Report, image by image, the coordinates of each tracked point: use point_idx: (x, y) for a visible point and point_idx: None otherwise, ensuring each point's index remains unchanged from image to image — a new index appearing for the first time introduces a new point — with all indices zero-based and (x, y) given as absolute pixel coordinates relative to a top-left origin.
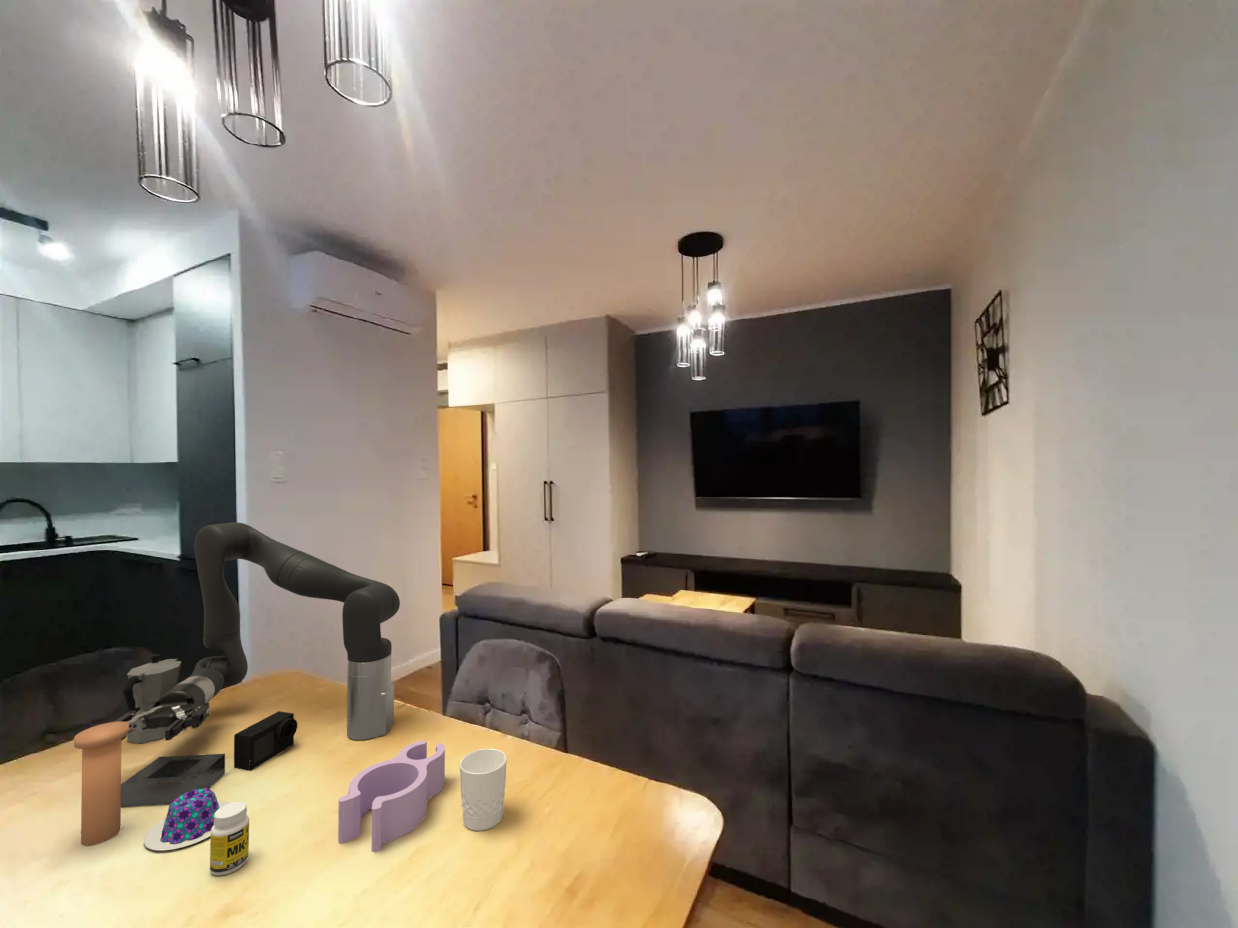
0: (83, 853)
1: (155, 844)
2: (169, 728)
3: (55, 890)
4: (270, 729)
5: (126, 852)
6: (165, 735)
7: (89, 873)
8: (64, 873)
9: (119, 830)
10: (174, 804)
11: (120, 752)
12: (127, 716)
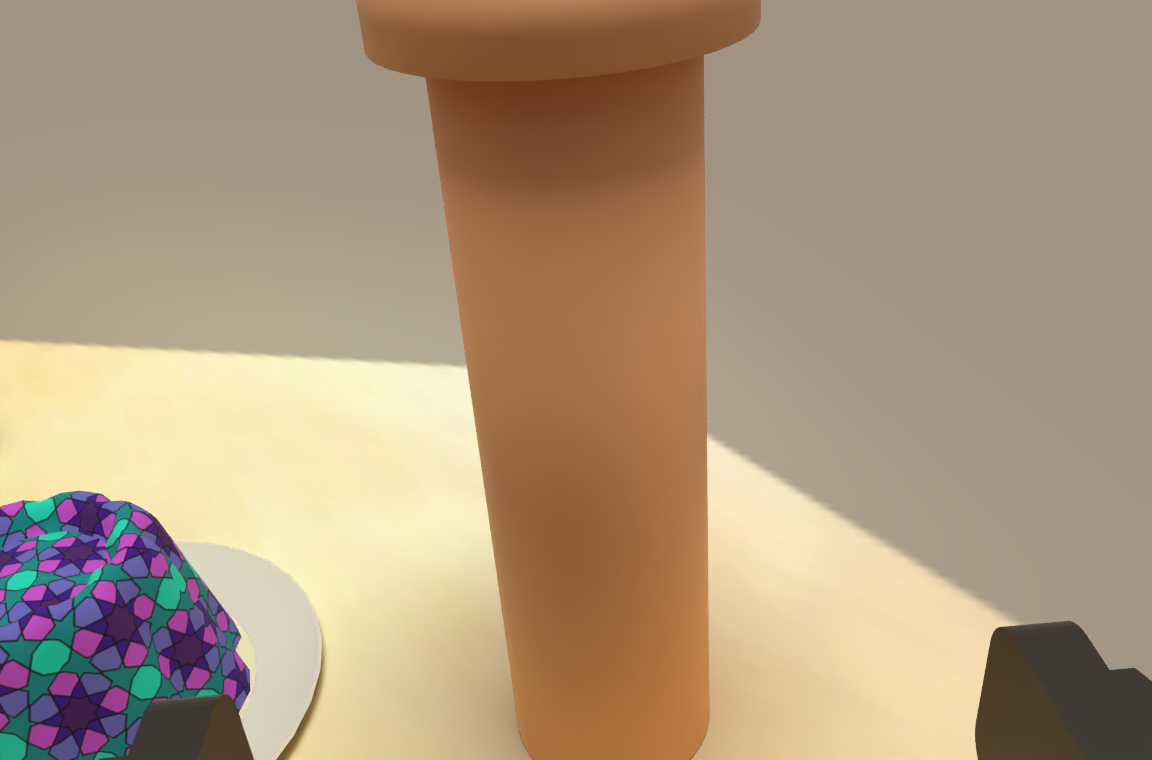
0: None
1: (250, 597)
2: (167, 708)
3: None
4: None
5: (376, 576)
6: (245, 745)
7: (472, 492)
8: None
9: (520, 731)
10: (123, 518)
11: (446, 218)
12: None
